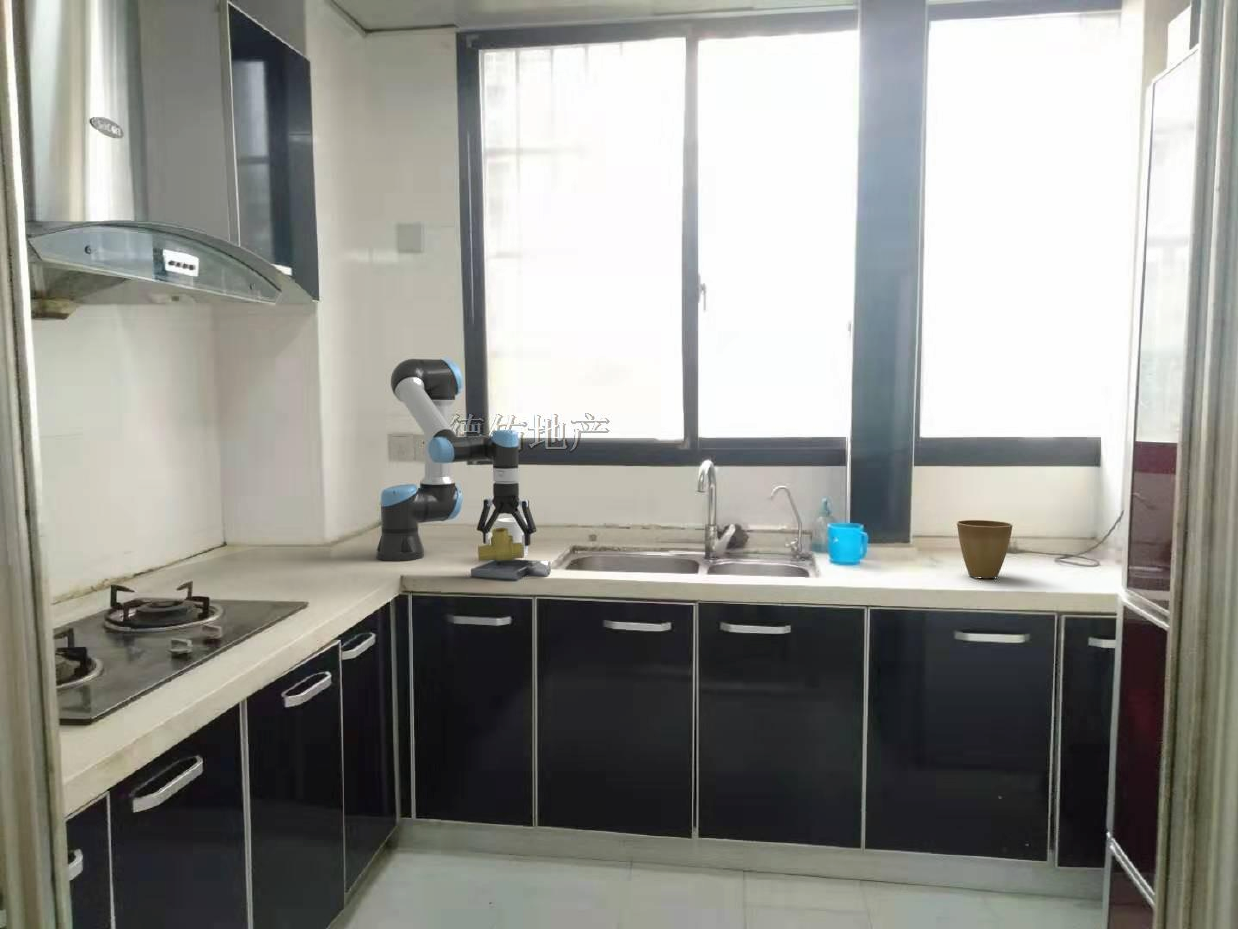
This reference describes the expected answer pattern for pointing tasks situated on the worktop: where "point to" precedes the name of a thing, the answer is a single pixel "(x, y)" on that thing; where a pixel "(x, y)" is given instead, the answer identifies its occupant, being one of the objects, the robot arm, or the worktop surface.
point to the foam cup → (512, 529)
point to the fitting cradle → (511, 569)
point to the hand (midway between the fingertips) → (506, 555)
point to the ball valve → (500, 547)
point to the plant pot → (984, 546)
